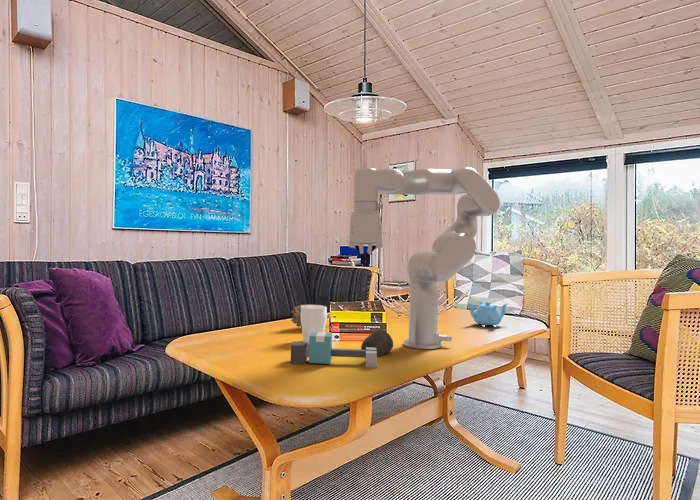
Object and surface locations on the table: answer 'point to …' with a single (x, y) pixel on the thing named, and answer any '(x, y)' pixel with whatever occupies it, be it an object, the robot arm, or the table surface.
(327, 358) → the sleeve
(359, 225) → the robot arm
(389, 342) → the stone
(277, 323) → the table surface
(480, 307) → the teapot
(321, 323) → the cup
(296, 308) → the pine cone
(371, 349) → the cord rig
